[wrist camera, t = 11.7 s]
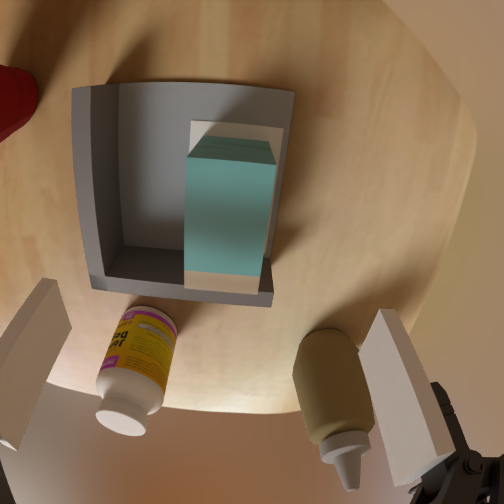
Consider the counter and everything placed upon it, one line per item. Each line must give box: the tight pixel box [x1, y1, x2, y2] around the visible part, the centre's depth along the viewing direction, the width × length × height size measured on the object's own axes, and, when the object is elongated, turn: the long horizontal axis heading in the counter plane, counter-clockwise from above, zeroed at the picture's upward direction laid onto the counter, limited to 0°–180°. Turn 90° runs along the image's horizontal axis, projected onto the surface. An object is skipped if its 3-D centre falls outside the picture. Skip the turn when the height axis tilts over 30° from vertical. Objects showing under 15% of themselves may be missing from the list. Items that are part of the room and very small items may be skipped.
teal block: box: [184, 136, 277, 295], centre depth 22 cm, size 9×5×7 cm, turn 174°
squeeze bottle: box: [292, 329, 375, 491], centre depth 27 cm, size 8×8×18 cm
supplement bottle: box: [96, 306, 177, 436], centre depth 28 cm, size 7×7×13 cm
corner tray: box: [72, 82, 295, 307], centre depth 23 cm, size 16×15×5 cm
